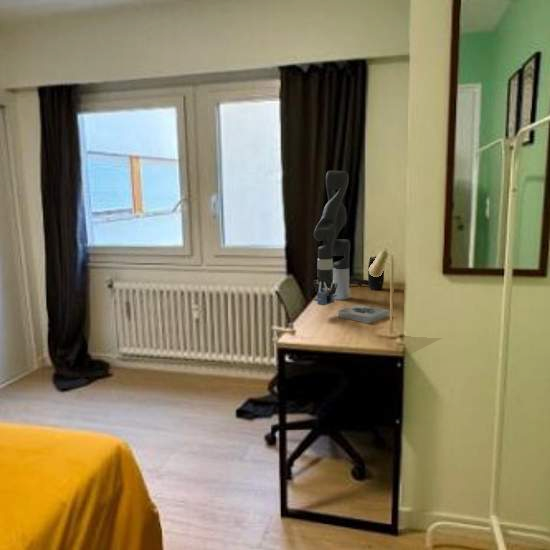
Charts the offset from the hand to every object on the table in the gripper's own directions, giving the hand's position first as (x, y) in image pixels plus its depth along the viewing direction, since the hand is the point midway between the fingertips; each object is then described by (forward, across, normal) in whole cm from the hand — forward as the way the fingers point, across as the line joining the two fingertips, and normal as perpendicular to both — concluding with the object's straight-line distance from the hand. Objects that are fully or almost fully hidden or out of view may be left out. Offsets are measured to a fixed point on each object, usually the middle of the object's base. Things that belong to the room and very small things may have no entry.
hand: (325, 301), depth 246 cm
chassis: (+7, -15, -11) cm, 20 cm away
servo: (+1, 0, 0) cm, 1 cm away
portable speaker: (+8, +15, -67) cm, 69 cm away
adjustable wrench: (+9, +29, -67) cm, 73 cm away
